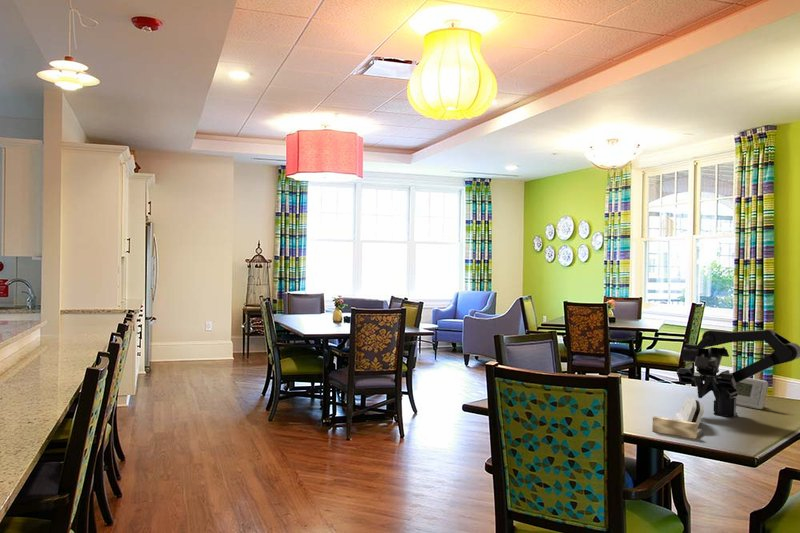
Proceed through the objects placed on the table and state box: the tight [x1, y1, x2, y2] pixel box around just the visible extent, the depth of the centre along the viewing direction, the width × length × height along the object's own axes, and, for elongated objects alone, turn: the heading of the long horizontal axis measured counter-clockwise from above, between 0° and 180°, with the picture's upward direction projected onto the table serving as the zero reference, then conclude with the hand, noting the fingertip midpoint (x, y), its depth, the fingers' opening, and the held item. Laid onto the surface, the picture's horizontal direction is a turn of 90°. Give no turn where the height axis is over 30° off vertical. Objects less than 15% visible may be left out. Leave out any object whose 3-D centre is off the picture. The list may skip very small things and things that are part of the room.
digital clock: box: [734, 377, 769, 410], centre depth 255 cm, size 16×9×11 cm, turn 22°
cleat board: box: [651, 415, 703, 440], centre depth 213 cm, size 13×8×4 cm, turn 51°
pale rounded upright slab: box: [673, 396, 705, 429], centre depth 223 cm, size 17×5×10 cm, turn 164°
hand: (699, 397), depth 232 cm, fingers closed
